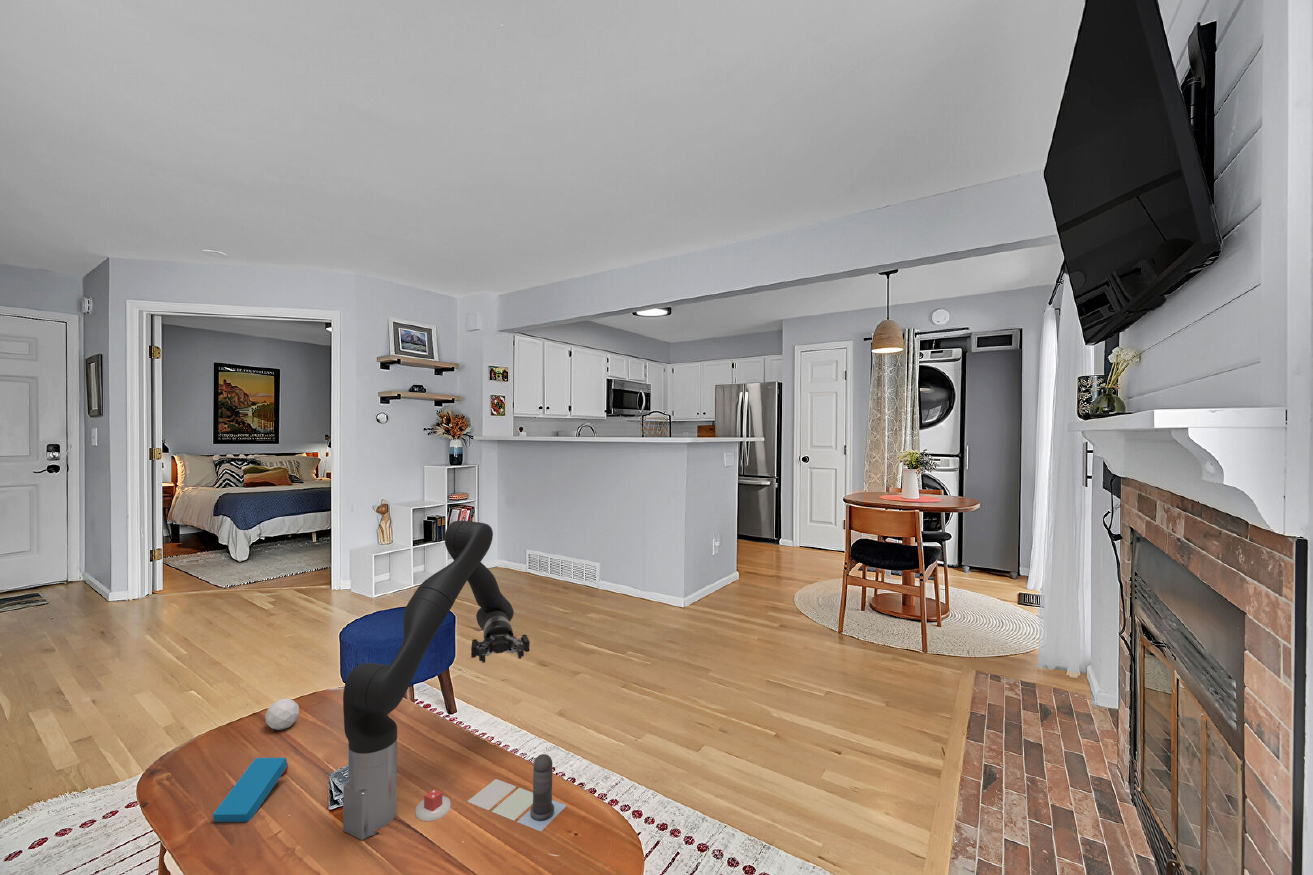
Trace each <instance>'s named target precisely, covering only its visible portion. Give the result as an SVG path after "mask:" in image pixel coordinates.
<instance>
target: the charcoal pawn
mask: <svg viewBox="0 0 1313 875" xmlns="http://www.w3.org/2000/svg"><path fill="white" fill-rule="evenodd" d="M532 771H533V772H532V774H533V775H532V780H533V781H532V782H533V783H532V788H533V789H532V792H533V804H532V805H531V806H530V809H531V810H530V809H529V810H530V816H531V818H532V819H533V820H536V821H545V820H548V819H550V818H551V817H552V816H553V814H554V805H553V804H552V800H553V758H552V757H551V756H550V755H548V754H546V753H542V754H539V755H538V756H537V757H535V759H534V762H533V770H532Z"/></svg>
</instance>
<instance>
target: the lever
mask: <svg viewBox="0 0 1313 875" xmlns="http://www.w3.org/2000/svg"><path fill="white" fill-rule="evenodd" d="M288 768H289V764H288V760H287V757H255V758H254V760H253V761H252V762H251V763H250V765H249V766H248V767H247V769H246V770H245V771H244V772H243V774H242V776H241V777H240V778H239V779H238V780H237V782H236V783H235V785H234V786H233V787H232V789H231V790H230V791H229V793H228V794H227V795H226V796H225V798H224V799H223V801H222V802H221V803H220V804H219V806H218V807H217V808H216V810H215V811H214V812H213V814H212V817H213V820H214V823H245V822H247V823H248V822H250V820H252V819H253V817H254V816H255V814H256V813H257V811H258V810H259V809H260V807H261V805H262V804H263V803H264V801H265V800H266V798H267V797H268V795H269V794H270V792H271V791H272V789H273V788H274V787H275V785H276V784H277V782H278V781H279V779H280V778H281V777H282V776H283V775H285V773H287V772H288Z"/></svg>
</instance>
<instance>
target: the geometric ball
mask: <svg viewBox="0 0 1313 875" xmlns="http://www.w3.org/2000/svg"><path fill="white" fill-rule="evenodd" d="M299 714H300V707H299V704H298V703H297V702H296V701H294V699H289V698H282V699H279V700H276V701H274V703H272V704H271V705H270V706H268V709H267V711H266V714H265V715H264V716H265V724H266V725H268V727H270V728H271V729H272V730H277V731H282V730H286V729H288V728H291V726H293V724H294V723H295V722H297V719H298V717H299Z"/></svg>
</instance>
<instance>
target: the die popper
mask: <svg viewBox="0 0 1313 875" xmlns="http://www.w3.org/2000/svg"><path fill="white" fill-rule="evenodd" d="M423 798H424V799H422V800H421V801H420V802H419V803H418V804H417V805H416V807H415V817H416V818H417V819H418V820H419V821H423V822H433V821H436V820H439V819H442V818H443V817H444V816H446V815H447V814H448V813H449V812H450V810H451V800H450V799H449V797H447V796H444V795H443V791H439V790H437V789H432V790H430V791H429V792H428V793H426V794H424V796H423Z"/></svg>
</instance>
